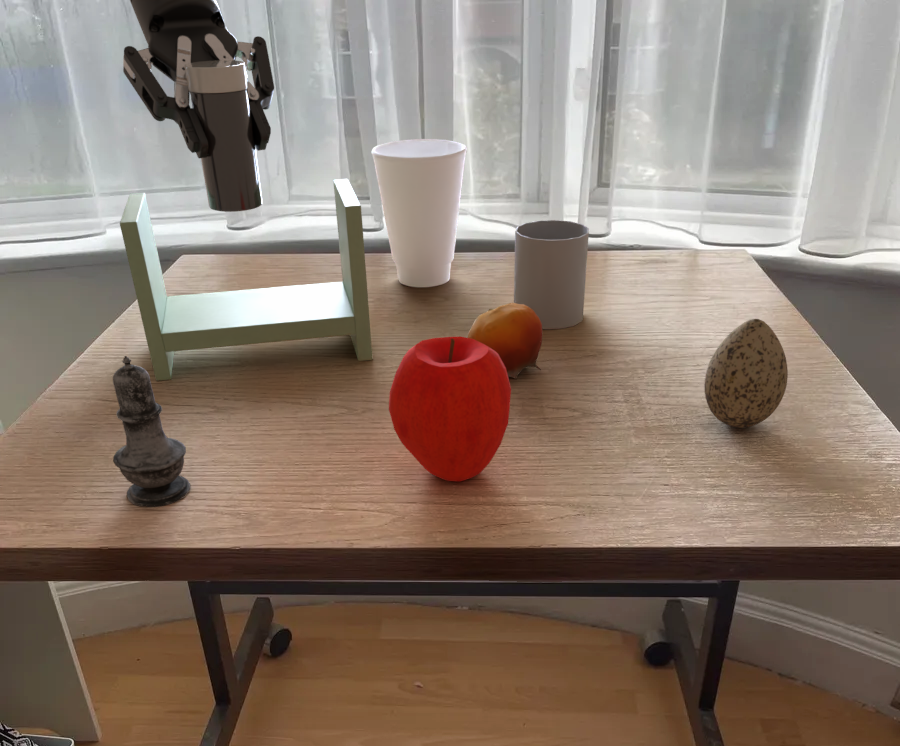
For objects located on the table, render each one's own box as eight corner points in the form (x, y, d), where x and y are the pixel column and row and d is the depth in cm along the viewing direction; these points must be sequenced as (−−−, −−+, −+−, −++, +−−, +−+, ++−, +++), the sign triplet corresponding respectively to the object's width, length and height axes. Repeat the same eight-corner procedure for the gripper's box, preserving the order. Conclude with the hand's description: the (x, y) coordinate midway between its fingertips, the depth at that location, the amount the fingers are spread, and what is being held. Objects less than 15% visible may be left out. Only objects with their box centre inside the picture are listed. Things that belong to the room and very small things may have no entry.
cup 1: (361, 281, 120) (351, 150, 110) (420, 260, 127) (415, 135, 118) (428, 299, 114) (423, 162, 104) (486, 275, 121) (486, 145, 111)
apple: (377, 492, 76) (365, 353, 68) (419, 440, 83) (413, 310, 76) (489, 511, 73) (490, 368, 66) (523, 456, 80) (527, 322, 73)
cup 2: (503, 323, 107) (504, 236, 101) (526, 301, 113) (528, 217, 107) (572, 332, 104) (577, 243, 98) (591, 309, 110) (598, 223, 104)
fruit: (530, 381, 90) (497, 305, 88) (475, 402, 95) (443, 332, 93) (572, 355, 95) (541, 283, 93) (517, 377, 101) (488, 309, 98)
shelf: (156, 381, 95) (119, 222, 86) (161, 340, 105) (129, 193, 95) (372, 359, 99) (361, 205, 89) (359, 322, 108) (347, 178, 98)
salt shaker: (127, 514, 74) (88, 376, 66) (119, 482, 78) (83, 348, 71) (199, 499, 75) (169, 363, 68) (188, 468, 80) (159, 337, 73)
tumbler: (207, 213, 86) (183, 68, 78) (208, 200, 90) (185, 61, 83) (264, 210, 86) (245, 65, 79) (262, 197, 91) (244, 59, 83)
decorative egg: (697, 438, 82) (715, 331, 76) (698, 405, 88) (714, 303, 82) (779, 444, 81) (803, 337, 75) (774, 410, 87) (796, 308, 81)
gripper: (234, 15, 91) (296, 165, 90) (91, 24, 85) (155, 184, 84) (245, -49, 84) (313, 112, 83) (90, -44, 78) (160, 129, 77)
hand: (233, 147), depth 84 cm, fingers closed on tumbler, 5 cm apart
